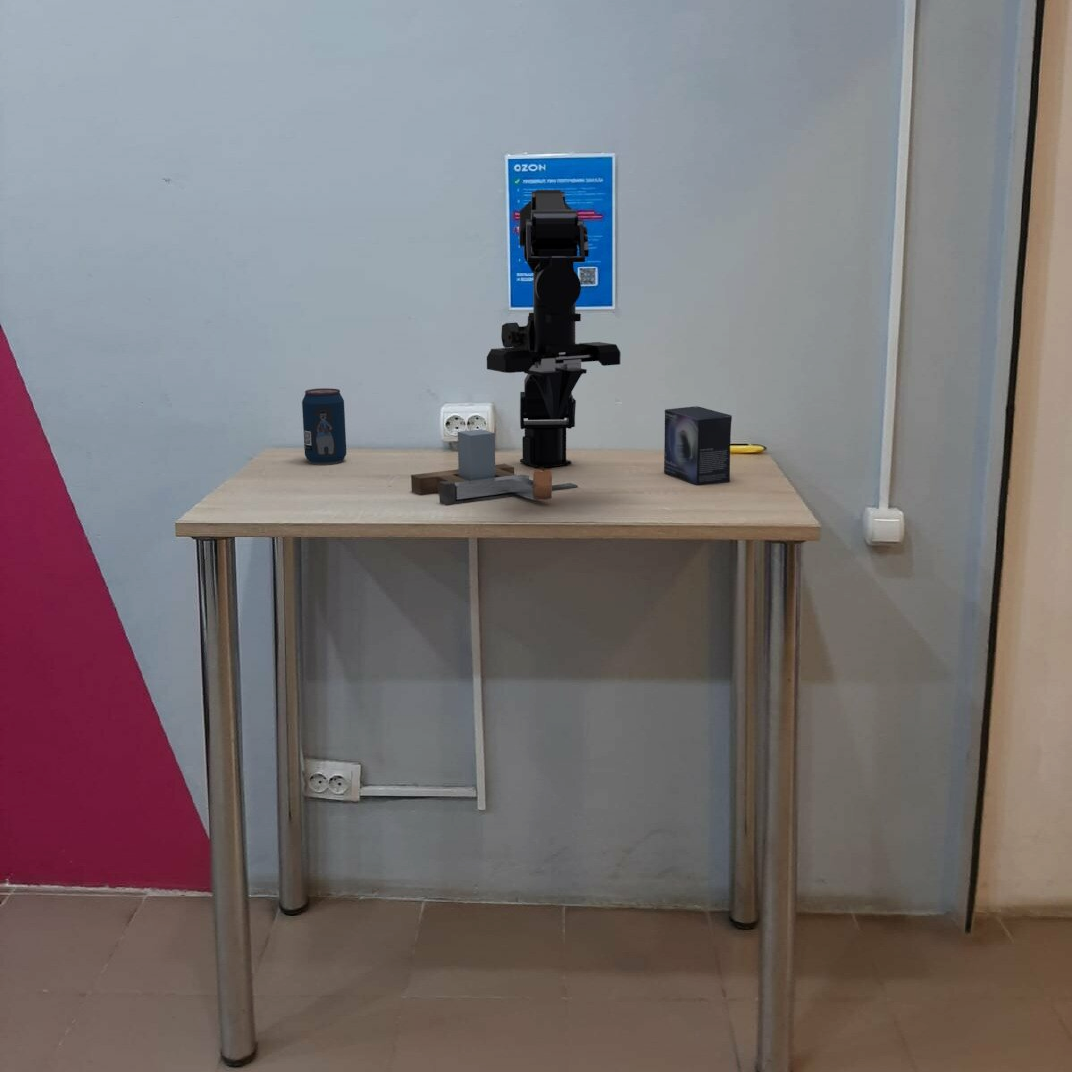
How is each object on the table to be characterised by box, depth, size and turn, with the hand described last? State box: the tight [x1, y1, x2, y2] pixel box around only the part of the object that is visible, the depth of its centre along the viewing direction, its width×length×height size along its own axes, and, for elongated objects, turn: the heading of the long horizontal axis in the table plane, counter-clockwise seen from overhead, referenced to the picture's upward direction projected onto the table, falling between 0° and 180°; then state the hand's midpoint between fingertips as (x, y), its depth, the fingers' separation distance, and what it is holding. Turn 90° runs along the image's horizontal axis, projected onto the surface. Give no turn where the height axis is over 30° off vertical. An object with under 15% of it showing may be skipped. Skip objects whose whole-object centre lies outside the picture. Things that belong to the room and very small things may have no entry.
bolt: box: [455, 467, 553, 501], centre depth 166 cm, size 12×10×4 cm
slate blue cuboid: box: [457, 428, 496, 481], centre depth 173 cm, size 4×4×9 cm
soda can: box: [301, 387, 347, 465], centre depth 196 cm, size 7×7×12 cm
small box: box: [663, 405, 733, 486], centre depth 182 cm, size 11×6×10 cm, turn 23°
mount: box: [410, 463, 579, 506], centre depth 175 cm, size 22×11×3 cm, turn 121°
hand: (554, 419), depth 164 cm, fingers closed
